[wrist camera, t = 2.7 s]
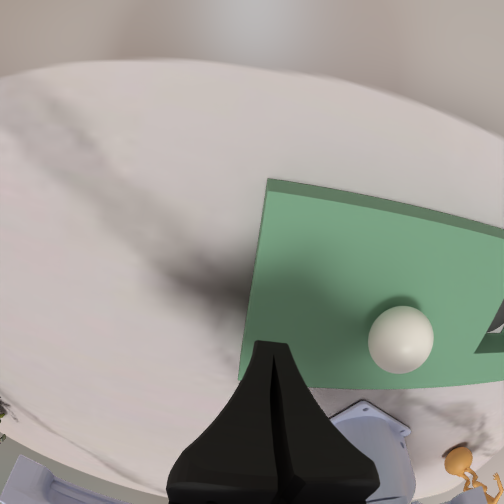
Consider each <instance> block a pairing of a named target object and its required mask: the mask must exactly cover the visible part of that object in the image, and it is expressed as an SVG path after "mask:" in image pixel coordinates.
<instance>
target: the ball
mask: <svg viewBox="0 0 504 504" xmlns="http://www.w3.org/2000/svg"><path fill="white" fill-rule="evenodd" d="M433 341H434V334H433V329H432V326H431V323H430V321H429V320H428V318H427V317H426V316H425V315H424V314H423V313H422V312H421V311H419V310H418V309H416V308H413V307H409V306H396V307H393V308H390V309H388V310H386V311H385V312H383V313H382V314H381V315H380V316H378V318H377V319H376V320H375V321H374V323H373V325H372V327H371V329H370V332H369V337H368V348H369V352H370V355H371V357H372V359H373V360H374V362H375V363H376V364H377V365H378V366H379V367H380V368H382V369H383V370H385V371H387V372H390V373H394V374H403V373H408V372H411V371H413V370H415V369H417V368H418V367H420V366H421V365H422V364H423V363H424V362H425V361H426V359H427V358H428V356H429V354H430V352H431V350H432V347H433Z"/></svg>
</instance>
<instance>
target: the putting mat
mask: <svg viewBox="0 0 504 504" xmlns="http://www.w3.org/2000/svg"><path fill="white" fill-rule="evenodd" d="M396 306H409V307H413V308H416V309H418V310H419V311H421V312H422V313H423V314H424V315H425V316H426V317H427V318H428V320H429V321H430V323H431V326H432V329H433V334H434V341H433V347H432V350H431V352H430V354H429V356H428V358H427V359H426V361H425V362H424V363H423V364H422V365H421V366H420V367H418V368H417V369H415V370H413V371H411V372H408V373H403V374H394V373H390V372H387V371H385V370H383V369H382V368H380V367H379V366H378V365H377V364H376V363H375V362H374V360H373V359H372V357H371V355H370V352H369V348H368V337H369V332H370V329H371V327H372V325H373V323H374V321H375V320H376V319H377V318H378V316H380V315H381V314H382V313H383V312H385V311H386V310H388V309H390V308H393V307H396ZM503 323H504V229H501V228H497V227H494V226H490V225H487V224H483V223H480V222H476V221H473V220H469V219H465V218H461V217H458V216H454V215H450V214H446V213H442V212H438V211H434V210H430V209H426V208H422V207H417V206H413V205H409V204H404V203H400V202H395V201H391V200H386V199H381V198H377V197H372V196H367V195H362V194H357V193H352V192H346V191H341V190H336V189H330V188H325V187H319V186H313V185H307V184H301V183H295V182H289V181H282V180H276V179H269V178H268V179H267V186H266V193H265V199H264V206H263V212H262V219H261V225H260V232H259V239H258V245H257V252H256V258H255V265H254V271H253V278H252V284H251V291H250V297H249V303H248V310H247V316H246V323H245V329H244V336H243V342H242V348H241V355H240V365H239V374H238V380H240V381H241V380H242V378H243V376H244V374H245V371H246V369H247V367H248V365H249V362H250V359H251V357H252V351H253V346H254V342H255V341H256V340H262V341H271V342H280V343H287V344H288V345H289V348H290V351H291V353H292V356H293V358H294V361H295V363H296V365H297V367H298V370H299V372H300V374H301V376H302V378H303V380H304V381H305V383H306V385H307V387H315V388H336V389H413V388H433V387H448V386H460V385H470V384H479V383H488V382H495V381H502V380H504V328H503V330H502V332H501V333H487V332H490V331H493V330H495V329H497V328H498V327H500V326H501V325H502V324H503Z"/></svg>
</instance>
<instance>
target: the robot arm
mask: <svg viewBox="0 0 504 504" xmlns="http://www.w3.org/2000/svg"><path fill="white" fill-rule="evenodd" d="M410 433H411V429H410V428H408V427H407V426H405V425H403V424H402V423H400V422H398V421H397V420H395V419H394V418H392V417H390V416H389V415H387V414H386V413H384V412H382V411H381V410H379V409H378V408H376V407H374V406H373V405H371V404H370V403H368V402H366V401H361V402H359V403H357V404H355V405H354V406H352V407H350V408H349V409H347V410H345V411H343V412H342V413H340V414H338V415H337V416H335V417H333V418H331V419H329V418H328V417H327V416H326V415H325V413H324V412H323V410H322V409H321V408H320V406H319V405H318V403H317V402H316V400H315V399H314V397H313V395H312V394H311V392H310V391H309V389H308V387H307V385H306V383H305V381H304V380H303V378H302V376H301V374H300V372H299V370H298V367H297V365H296V363H295V361H294V358H293V356H292V353H291V351H290V348H289V345H288V344H287V343H280V342H271V341H262V340H256V341H255V342H254V346H253V351H252V357H251V359H250V362H249V365H248V367H247V369H246V371H245V374H244V376H243V378H242V380H241V381H240V383H239V385H238V387H237V389H236V390H235V392H234V394H233V395H232V397H231V398H230V400H229V401H228V403H227V404H226V406H225V407H224V408H223V410H222V411H221V412H220V414H219V415H218V416H217V417H216V419H215V420H214V421H213V422H212V423H211V424H210V426H209V427H208V428H207V429H206V430H205V431H204V432H203V433H202V434H201V435H200V436H199V437H198V438H197V439H196V440H195V441H194V442H193V443H191V444H190V445H189V446H188V447H187V448H186V449H185V450H184V451H183V452H182V453H181V455H180V456H179V458H178V459H177V461H176V462H175V464H174V466H173V467H172V469H171V471H170V474H169V476H168V481H167V486H166V491H167V495H168V498H169V504H409V503H410V501H411V500H412V498H413V496H414V493H415V488H416V480H415V476H414V472H413V468H412V465H411V461H410V457H409V454H408V450H407V447H406V443H405V440H404V437H406V436H407V435H409V434H410ZM0 502H1V503H2V504H131V503H128V502H124V501H121V500H117V499H114V498H111V497H108V496H105V495H102V494H99V493H96V492H93V491H91V490H88V489H85V488H83V487H80V486H77V485H75V484H72V483H70V482H68V481H65V480H63V479H60V478H58V477H56V476H54V475H53V473H52V472H51V471H50V470H49V469H48V468H47V467H45V466H43V465H42V464H40V463H38V462H36V461H34V460H32V459H30V458H28V457H26V456H24V455H19V457H18V459H17V461H16V463H15V465H14V467H13V469H12V471H11V474H10V476H9V478H8V480H7V483H6V485H5V487H4V489H3V491H2V494H1V496H0ZM411 504H422V503H419V502H418V501H415V502H412V503H411ZM441 504H488V503H487V500H486V497H485V494H484V491H483V487H482V486H479V487H476V488H473V489H470V490H467V491H465V492H462V493H460V494H459V495H457V496H456V497H454V498H453V499H452V500H451V501H448V502H445V503H441Z"/></svg>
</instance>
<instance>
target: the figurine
mask: <svg viewBox="0 0 504 504" xmlns="http://www.w3.org/2000/svg"><path fill="white" fill-rule="evenodd" d="M472 459H473V456H472V453H471V451H470V450H469V449H467V448H465V447H458V448H455V449H453V450H452V451H451V452H450V453H449V454H448V455H447V457H446V459H445V464H444V465H445V469H446V471H447V472H448V473H449V474H452V475H457V476H459V477H463V478H464V479H465V480H466V483H465V486H464V490H463V491H464V492H465V491H467V490H470V489H473V488H468V486H469V484H470V481H469V478H468V477H467V476H466V475H465V474H464V472H469V473H470V474H472V475H473V480H472V485H473V487H474V488H476V487H479V486H482V487H483V491H484V494H485V497H486V500H487V503H488V504H497V502H498V500H499V498H500V496H501V495H502V493H503V490H504V489H503V487H502V484H501V481H500V478H499V475H498V474H497V475H496V474H495V475H496V476H494V475H493V476H494V477H495V479H494V480H497V483H498V487H499V490H500V492H499V493H498V494H497V496H496V497H495V498H493V497H491V496H490V495H488V494H487V493H486V491H487V486H485V485H483V484H482V483H480V482H478V481H476V480H477V478H478V476H477V475H476V473H475V472H474V471H473V470H472V469H470V465H471V463H472Z"/></svg>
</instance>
